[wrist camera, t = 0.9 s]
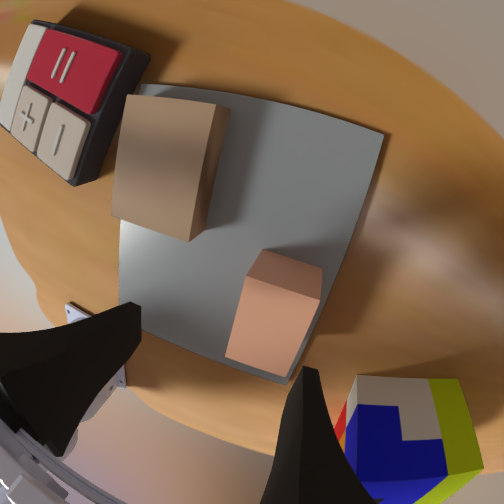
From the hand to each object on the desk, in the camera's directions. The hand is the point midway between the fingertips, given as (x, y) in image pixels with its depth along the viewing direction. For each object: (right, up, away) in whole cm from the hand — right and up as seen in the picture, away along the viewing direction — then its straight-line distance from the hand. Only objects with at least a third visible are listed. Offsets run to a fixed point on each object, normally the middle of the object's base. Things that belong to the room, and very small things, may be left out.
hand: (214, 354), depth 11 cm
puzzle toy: (+15, -11, +11) cm, 21 cm away
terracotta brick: (+3, +1, +8) cm, 9 cm away
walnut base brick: (-3, +10, +6) cm, 12 cm away
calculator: (-14, +18, +7) cm, 24 cm away
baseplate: (-1, +5, +8) cm, 10 cm away
